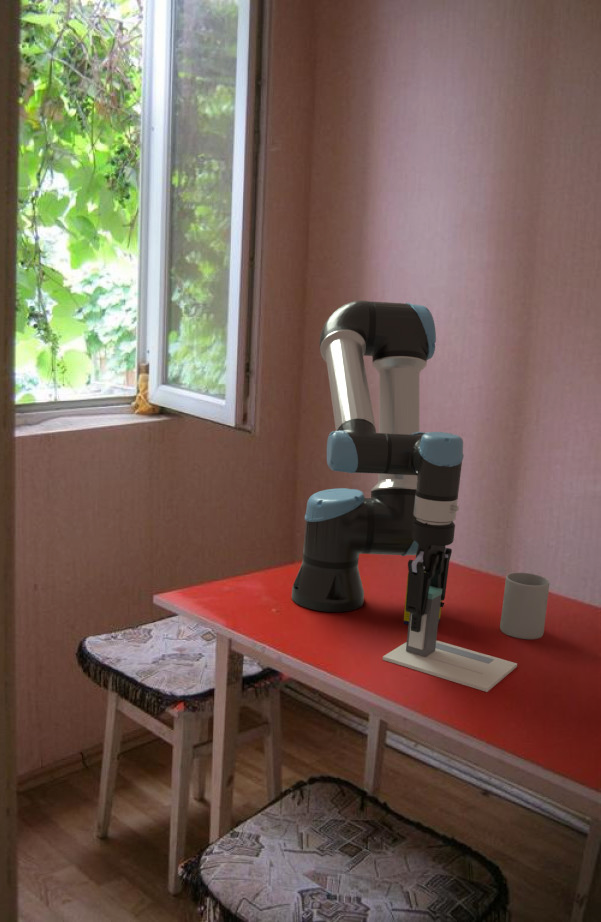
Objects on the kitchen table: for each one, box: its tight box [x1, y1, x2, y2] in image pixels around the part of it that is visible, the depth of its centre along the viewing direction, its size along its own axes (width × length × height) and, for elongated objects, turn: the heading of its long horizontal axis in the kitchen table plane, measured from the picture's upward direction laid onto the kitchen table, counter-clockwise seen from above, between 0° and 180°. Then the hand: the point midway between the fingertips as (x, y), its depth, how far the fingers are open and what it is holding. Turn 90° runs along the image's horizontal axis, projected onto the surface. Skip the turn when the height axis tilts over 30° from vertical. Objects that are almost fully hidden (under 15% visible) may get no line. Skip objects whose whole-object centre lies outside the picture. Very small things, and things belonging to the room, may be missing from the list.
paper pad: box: [382, 639, 518, 693], centre depth 172 cm, size 20×14×1 cm
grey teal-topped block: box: [406, 586, 442, 657], centre depth 173 cm, size 4×4×12 cm
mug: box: [499, 572, 550, 640], centre depth 191 cm, size 12×8×11 cm
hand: (421, 643), depth 174 cm, fingers closed on grey teal-topped block, 4 cm apart
